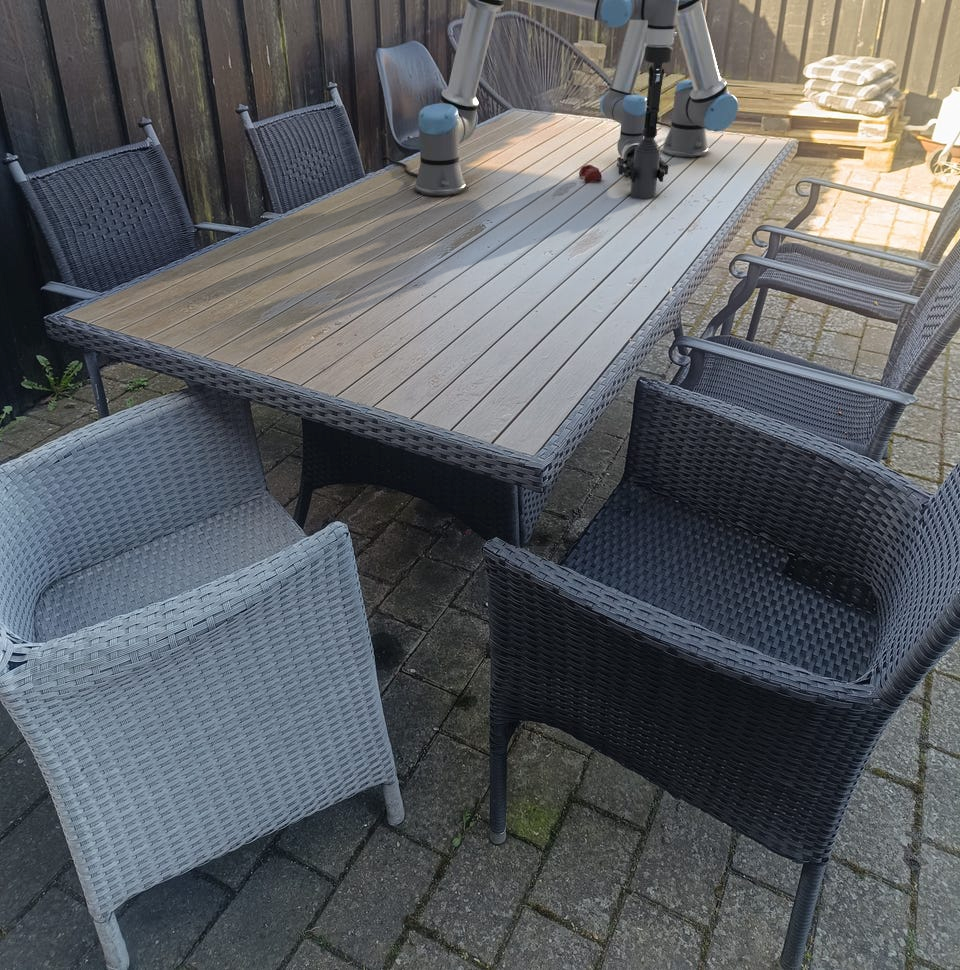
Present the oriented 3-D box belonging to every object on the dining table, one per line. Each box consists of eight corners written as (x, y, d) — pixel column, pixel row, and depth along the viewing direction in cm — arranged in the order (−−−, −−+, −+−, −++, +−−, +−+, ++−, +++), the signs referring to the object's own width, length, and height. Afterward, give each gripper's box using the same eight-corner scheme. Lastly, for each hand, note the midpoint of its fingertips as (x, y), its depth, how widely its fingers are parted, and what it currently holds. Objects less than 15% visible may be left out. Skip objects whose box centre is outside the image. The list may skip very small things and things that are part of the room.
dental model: (594, 161, 269) (603, 168, 262) (593, 174, 271) (602, 181, 265) (577, 162, 268) (586, 169, 261) (577, 176, 270) (586, 183, 264)
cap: (639, 135, 244) (640, 130, 243) (645, 132, 246) (645, 127, 246) (653, 137, 242) (654, 131, 241) (658, 134, 245) (659, 128, 244)
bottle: (634, 190, 258) (640, 127, 248) (658, 193, 256) (665, 129, 245) (627, 196, 253) (633, 132, 242) (651, 200, 250) (658, 135, 240)
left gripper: (676, 51, 222) (665, 142, 236) (670, 40, 238) (660, 126, 252) (647, 51, 223) (638, 142, 237) (643, 39, 239) (634, 126, 252)
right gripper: (666, 168, 267) (680, 190, 249) (602, 168, 267) (612, 190, 248) (669, 143, 263) (684, 163, 244) (604, 144, 263) (614, 164, 244)
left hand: (649, 134), depth 244 cm, fingers open, 6 cm apart
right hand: (648, 177), depth 246 cm, fingers closed on bottle, 7 cm apart
